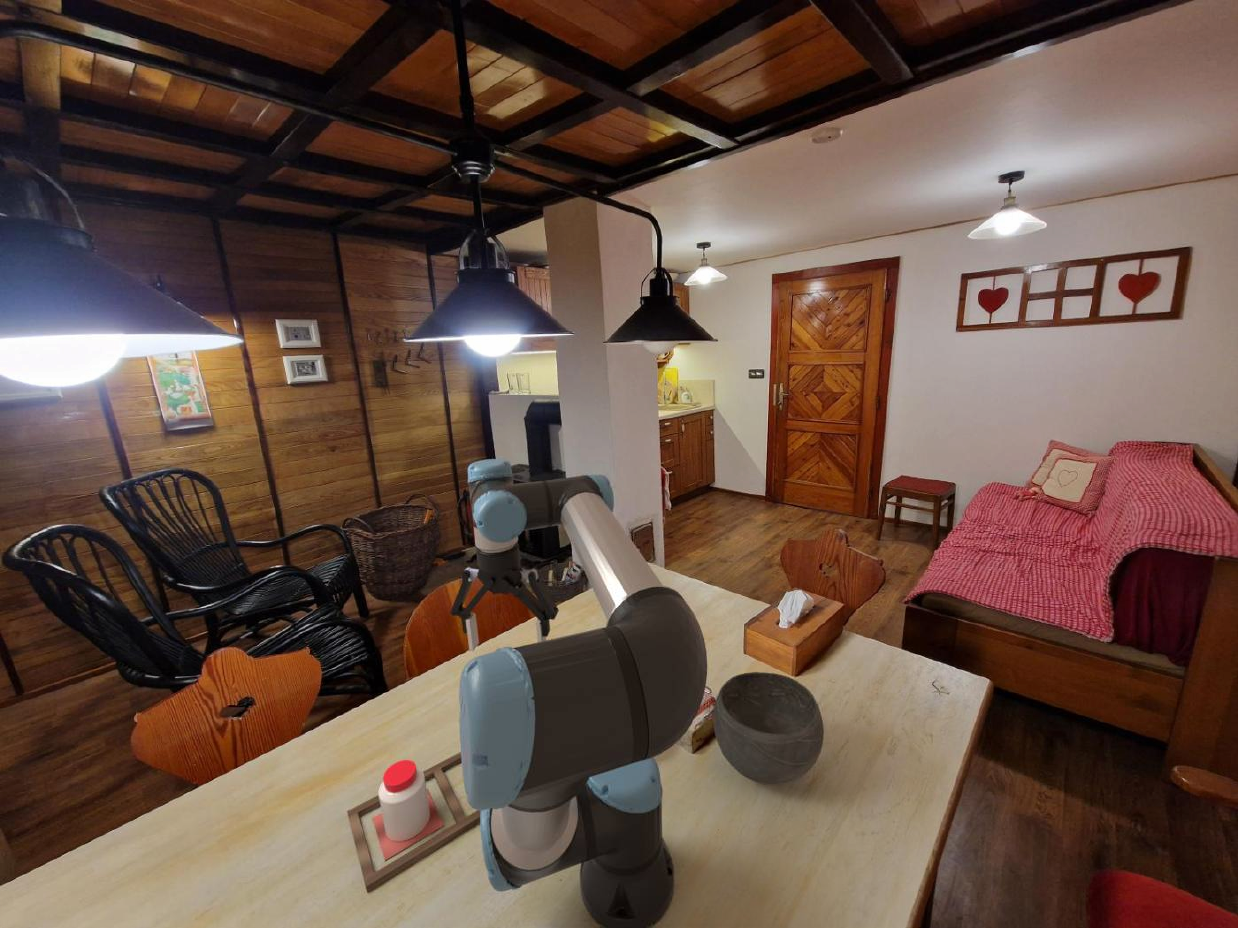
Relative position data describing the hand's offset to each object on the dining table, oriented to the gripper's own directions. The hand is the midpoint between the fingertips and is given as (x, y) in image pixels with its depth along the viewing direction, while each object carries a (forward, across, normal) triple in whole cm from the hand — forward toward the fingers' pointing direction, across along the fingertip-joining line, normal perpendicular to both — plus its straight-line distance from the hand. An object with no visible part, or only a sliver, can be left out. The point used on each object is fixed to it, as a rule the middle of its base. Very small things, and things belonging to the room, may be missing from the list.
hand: (508, 648), depth 94 cm
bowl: (+29, -50, -7) cm, 58 cm away
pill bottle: (+29, +17, +12) cm, 36 cm away
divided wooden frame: (+29, +12, +7) cm, 32 cm away
